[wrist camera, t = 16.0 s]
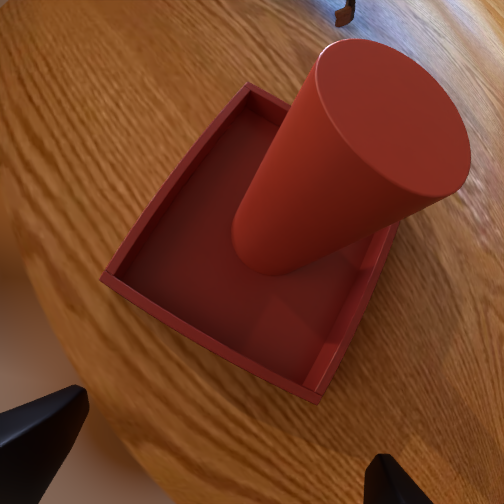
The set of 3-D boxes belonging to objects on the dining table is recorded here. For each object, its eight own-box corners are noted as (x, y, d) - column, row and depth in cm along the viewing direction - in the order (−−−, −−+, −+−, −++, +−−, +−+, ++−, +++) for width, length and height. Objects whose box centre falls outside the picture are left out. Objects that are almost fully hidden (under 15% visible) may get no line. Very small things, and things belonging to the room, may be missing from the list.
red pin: (311, 278, 19) (486, 212, 7) (228, 273, 18) (323, 176, 6) (310, 200, 20) (445, 71, 8) (232, 191, 19) (307, 18, 7)
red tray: (301, 396, 18) (317, 405, 16) (109, 285, 17) (98, 279, 15) (390, 201, 22) (411, 189, 20) (240, 103, 22) (247, 80, 19)
